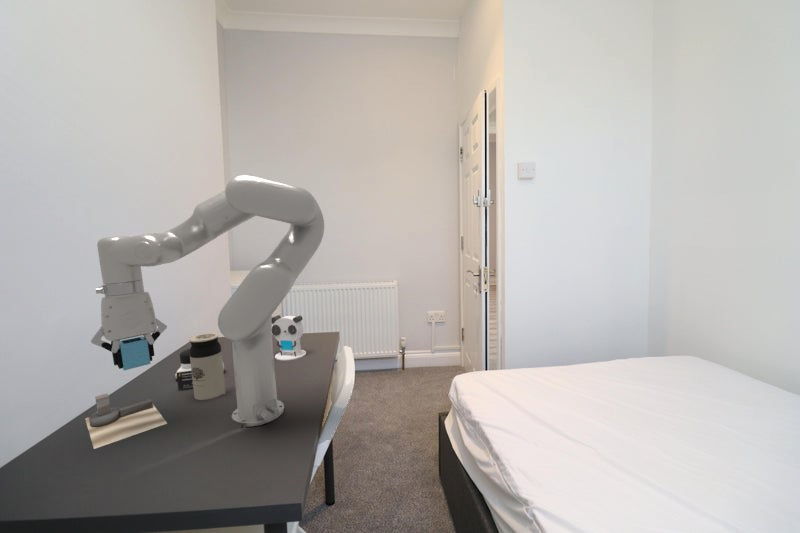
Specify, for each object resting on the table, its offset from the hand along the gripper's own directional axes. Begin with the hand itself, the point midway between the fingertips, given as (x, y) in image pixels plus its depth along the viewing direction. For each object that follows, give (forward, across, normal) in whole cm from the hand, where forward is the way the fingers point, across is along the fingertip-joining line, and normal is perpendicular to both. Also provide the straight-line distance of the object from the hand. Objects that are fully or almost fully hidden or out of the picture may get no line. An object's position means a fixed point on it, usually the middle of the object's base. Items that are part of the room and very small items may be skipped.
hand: (135, 362), depth 90 cm
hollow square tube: (0, 0, 0) cm, 0 cm away
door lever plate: (+17, -3, +6) cm, 18 cm away
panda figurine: (+18, +50, +21) cm, 57 cm away
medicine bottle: (+17, +16, +17) cm, 29 cm away
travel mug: (+17, +17, +6) cm, 25 cm away
